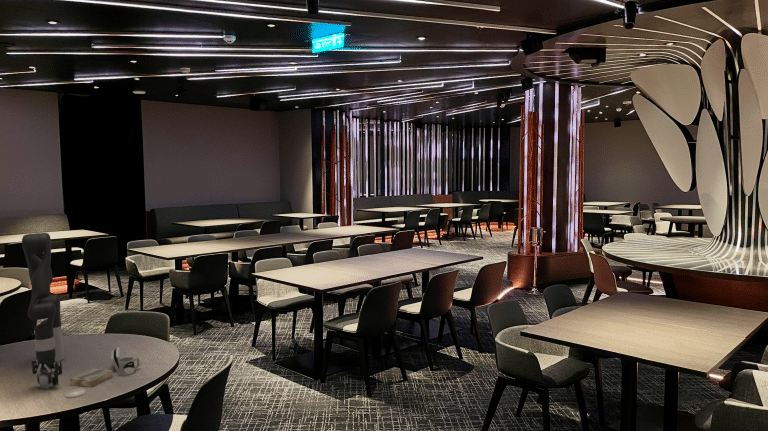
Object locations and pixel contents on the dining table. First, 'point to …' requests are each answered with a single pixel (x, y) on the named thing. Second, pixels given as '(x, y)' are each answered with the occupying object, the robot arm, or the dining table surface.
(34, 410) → the dining table surface
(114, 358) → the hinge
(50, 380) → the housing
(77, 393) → the white smooth dome part
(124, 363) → the mug
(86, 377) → the wooden framed mirror
